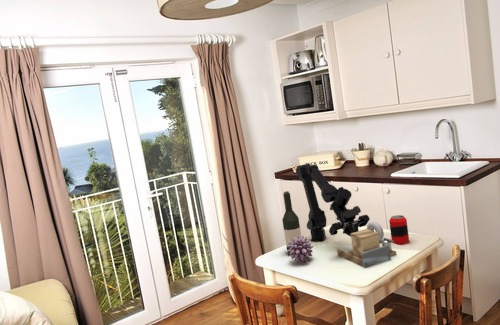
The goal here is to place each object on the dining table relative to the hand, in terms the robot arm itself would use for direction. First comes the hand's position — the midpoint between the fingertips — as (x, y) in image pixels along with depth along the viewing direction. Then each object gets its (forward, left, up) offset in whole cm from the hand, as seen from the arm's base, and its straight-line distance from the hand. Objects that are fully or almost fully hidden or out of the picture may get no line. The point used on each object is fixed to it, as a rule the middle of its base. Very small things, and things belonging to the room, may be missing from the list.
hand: (359, 240), depth 183 cm
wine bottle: (-33, +5, -8) cm, 34 cm away
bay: (+1, -1, -8) cm, 8 cm away
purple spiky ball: (-25, -6, -8) cm, 27 cm away
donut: (+2, +21, -8) cm, 22 cm away
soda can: (+13, +21, -8) cm, 26 cm away
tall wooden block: (+3, -3, -7) cm, 8 cm away
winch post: (+11, +3, -8) cm, 13 cm away
